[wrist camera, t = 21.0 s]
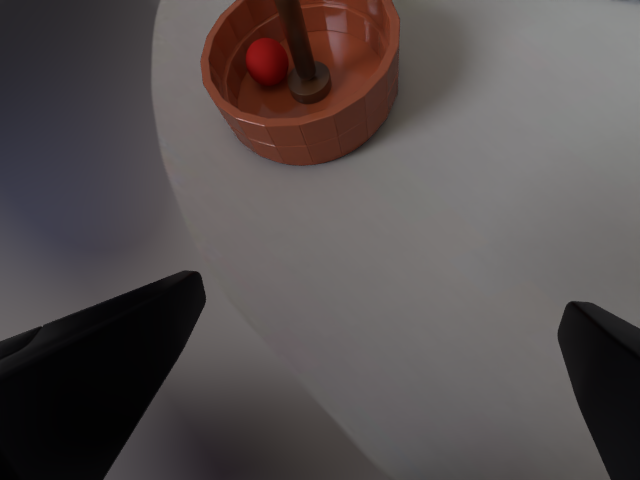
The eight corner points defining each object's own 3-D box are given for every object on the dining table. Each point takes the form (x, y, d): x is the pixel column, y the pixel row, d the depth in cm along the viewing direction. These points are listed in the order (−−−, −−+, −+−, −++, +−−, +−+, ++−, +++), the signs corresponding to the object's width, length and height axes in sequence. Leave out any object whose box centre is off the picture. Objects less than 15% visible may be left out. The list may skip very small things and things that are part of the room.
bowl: (317, 202, 24) (300, 164, 19) (200, 115, 28) (164, 67, 24) (434, 73, 26) (444, 9, 21) (306, 10, 30) (291, -54, 26)
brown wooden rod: (339, 91, 26) (293, -162, 13) (301, 111, 26) (220, -122, 13) (320, 64, 27) (263, -192, 14) (284, 83, 27) (195, -156, 14)
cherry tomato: (278, 97, 28) (263, 92, 25) (248, 71, 28) (229, 63, 25) (302, 62, 27) (289, 52, 24) (271, 34, 27) (254, 21, 24)
